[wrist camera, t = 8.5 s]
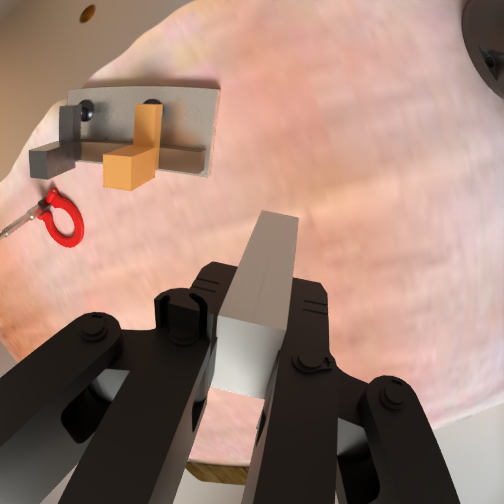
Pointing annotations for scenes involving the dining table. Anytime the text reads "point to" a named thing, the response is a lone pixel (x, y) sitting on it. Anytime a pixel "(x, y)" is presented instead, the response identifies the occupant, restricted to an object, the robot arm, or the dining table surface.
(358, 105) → the dining table surface
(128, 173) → the orange toy chair
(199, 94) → the bolt plate
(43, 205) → the tow hook
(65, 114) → the fixed leg
